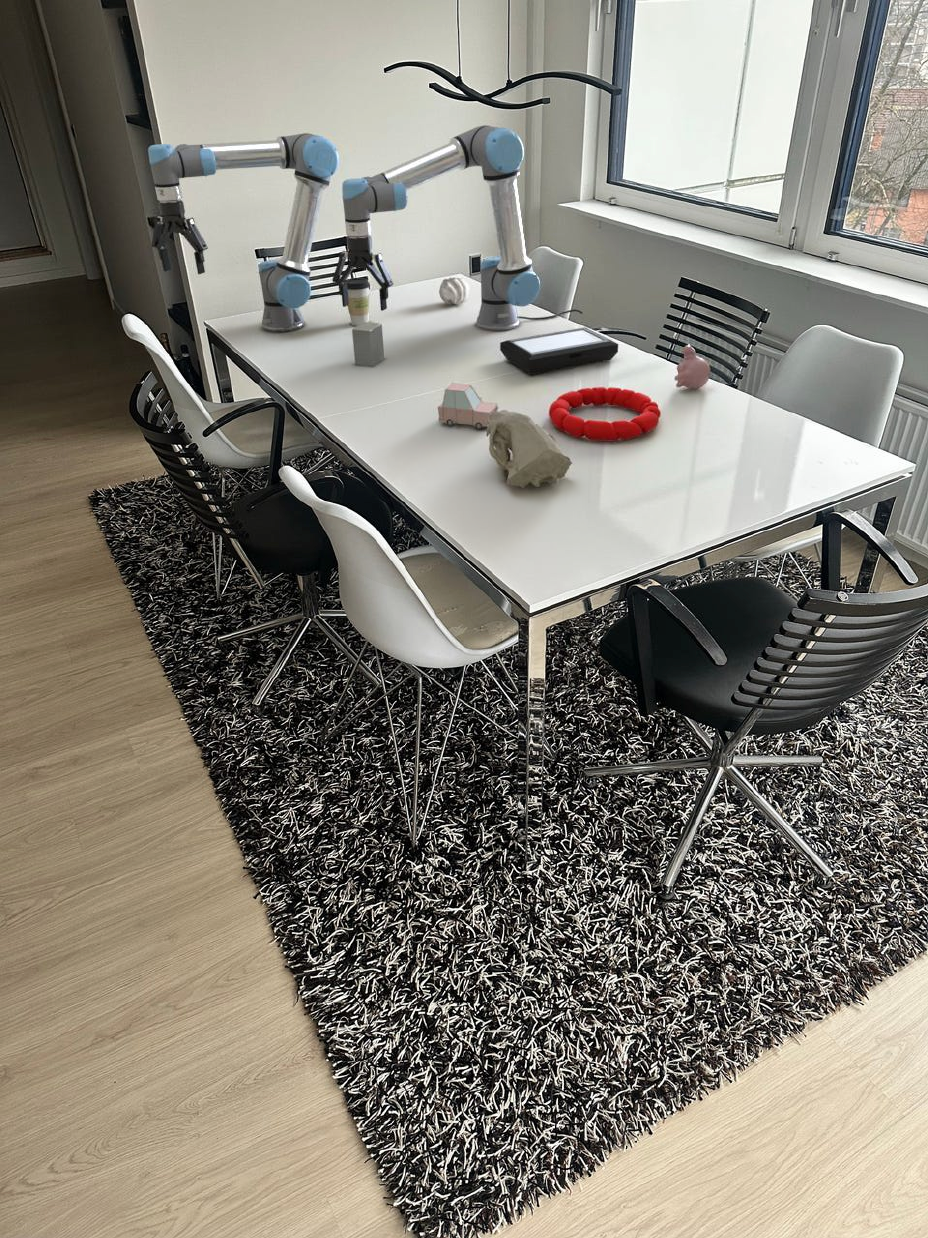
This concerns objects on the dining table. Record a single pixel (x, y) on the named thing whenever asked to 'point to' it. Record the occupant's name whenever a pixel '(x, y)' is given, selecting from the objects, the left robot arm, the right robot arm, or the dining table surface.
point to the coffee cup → (358, 300)
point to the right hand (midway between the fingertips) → (364, 307)
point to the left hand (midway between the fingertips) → (184, 271)
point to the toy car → (465, 406)
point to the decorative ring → (604, 428)
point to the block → (368, 344)
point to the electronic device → (558, 350)
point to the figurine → (692, 370)
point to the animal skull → (525, 450)
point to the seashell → (453, 290)
